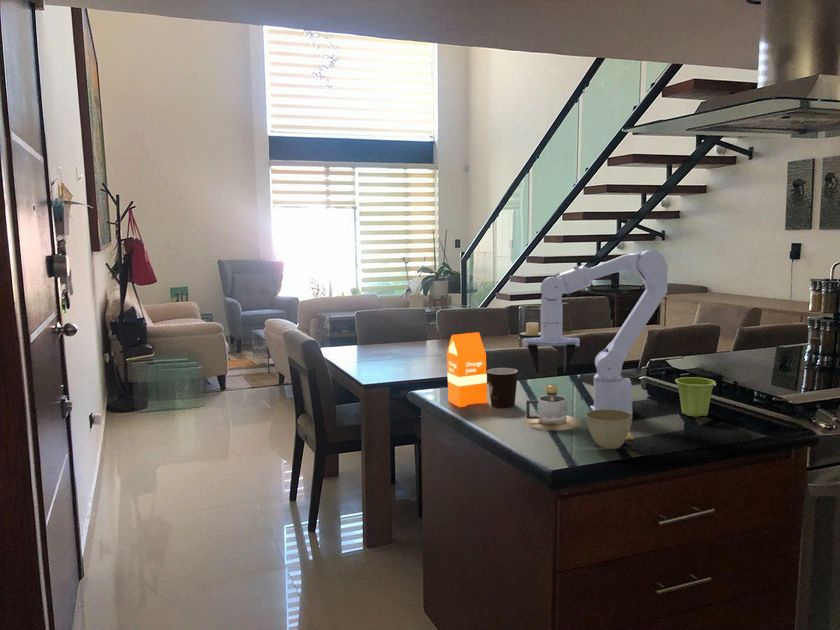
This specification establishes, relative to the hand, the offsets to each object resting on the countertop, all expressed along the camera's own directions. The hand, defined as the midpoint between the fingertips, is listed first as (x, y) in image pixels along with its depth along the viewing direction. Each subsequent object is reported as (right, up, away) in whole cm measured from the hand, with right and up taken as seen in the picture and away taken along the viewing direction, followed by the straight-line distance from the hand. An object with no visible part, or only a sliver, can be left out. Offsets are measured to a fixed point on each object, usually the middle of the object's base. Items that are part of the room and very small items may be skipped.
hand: (551, 372), depth 176 cm
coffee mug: (-12, -10, +9) cm, 18 cm away
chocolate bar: (+14, -13, -21) cm, 28 cm away
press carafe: (-3, -11, -11) cm, 16 cm away
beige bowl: (+7, -14, -29) cm, 33 cm away
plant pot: (+35, -10, -7) cm, 38 cm away
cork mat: (-2, -12, -11) cm, 16 cm away
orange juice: (-21, -10, +14) cm, 27 cm away
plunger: (-2, -9, -11) cm, 14 cm away
